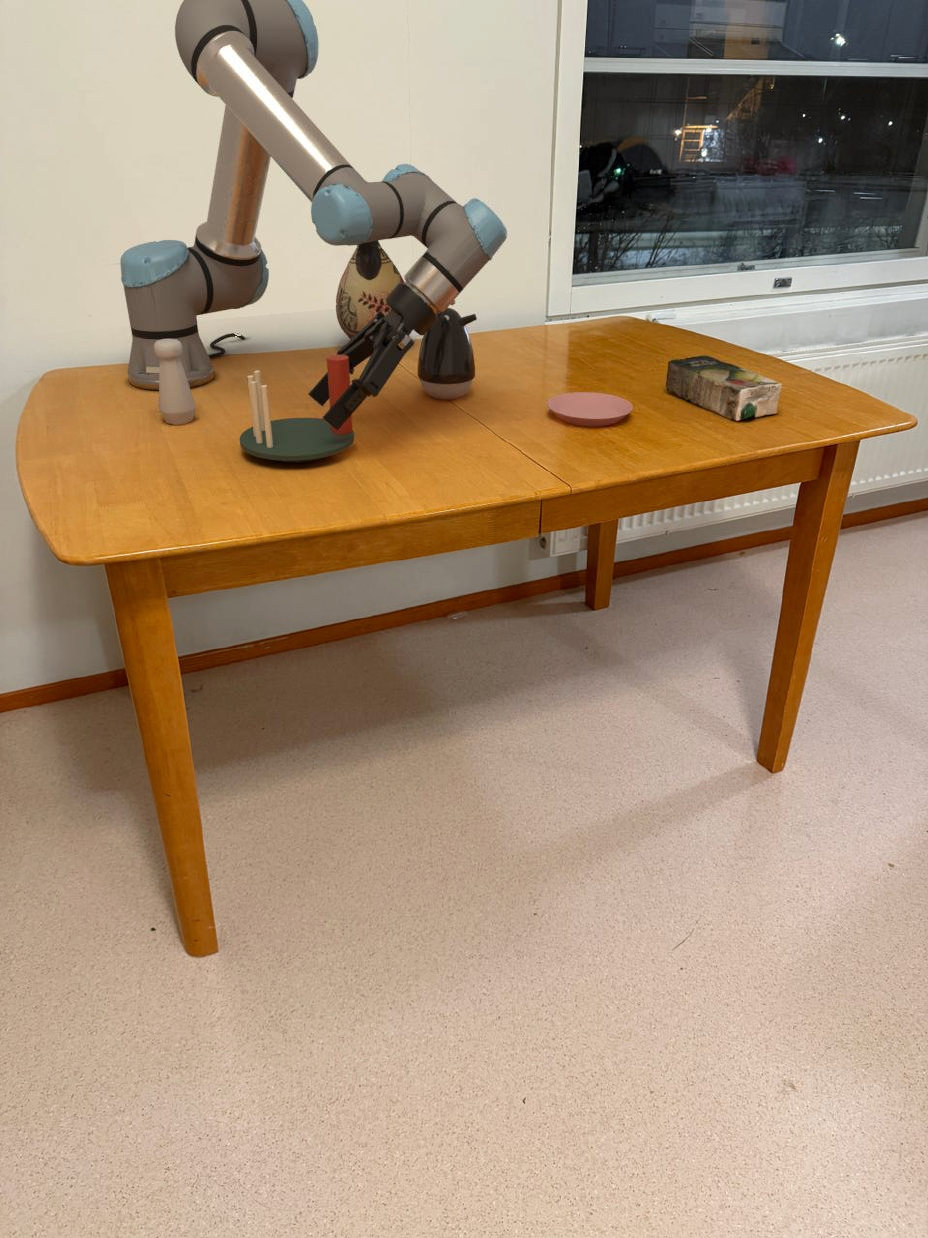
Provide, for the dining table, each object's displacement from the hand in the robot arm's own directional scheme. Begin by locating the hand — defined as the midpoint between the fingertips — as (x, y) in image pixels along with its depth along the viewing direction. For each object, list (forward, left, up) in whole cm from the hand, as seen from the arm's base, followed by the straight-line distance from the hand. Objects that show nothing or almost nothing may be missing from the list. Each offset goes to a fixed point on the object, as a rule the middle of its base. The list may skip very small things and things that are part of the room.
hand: (322, 411), depth 137 cm
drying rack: (0, -4, -6) cm, 7 cm away
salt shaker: (-18, -22, -6) cm, 29 cm away
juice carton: (-9, +70, -6) cm, 71 cm away
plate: (-7, +45, -6) cm, 46 cm away
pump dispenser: (-23, +24, -6) cm, 34 cm away
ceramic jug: (-57, +16, -6) cm, 59 cm away
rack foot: (0, -4, -6) cm, 7 cm away
